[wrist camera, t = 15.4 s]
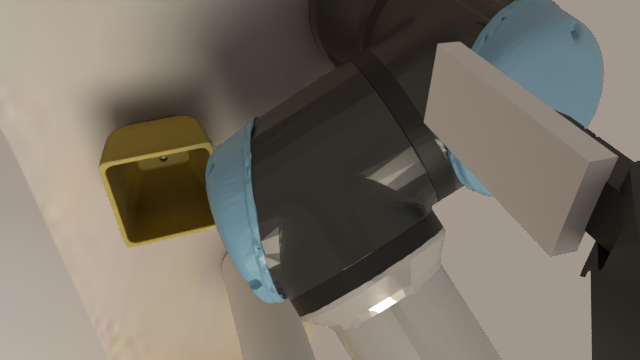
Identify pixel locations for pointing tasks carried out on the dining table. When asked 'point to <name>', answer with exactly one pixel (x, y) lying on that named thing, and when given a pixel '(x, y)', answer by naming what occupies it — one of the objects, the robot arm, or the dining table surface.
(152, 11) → the dining table surface
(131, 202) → the flower pot
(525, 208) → the robot arm
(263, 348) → the spray bottle
